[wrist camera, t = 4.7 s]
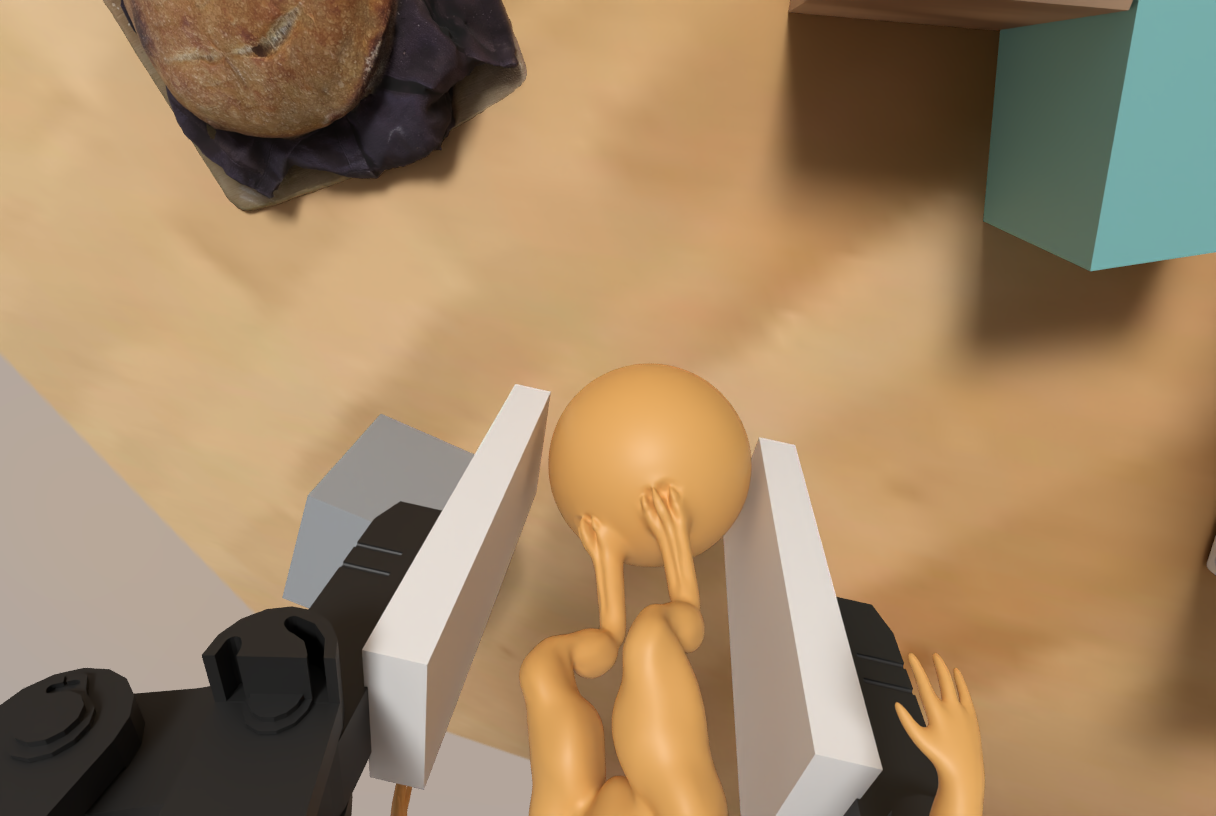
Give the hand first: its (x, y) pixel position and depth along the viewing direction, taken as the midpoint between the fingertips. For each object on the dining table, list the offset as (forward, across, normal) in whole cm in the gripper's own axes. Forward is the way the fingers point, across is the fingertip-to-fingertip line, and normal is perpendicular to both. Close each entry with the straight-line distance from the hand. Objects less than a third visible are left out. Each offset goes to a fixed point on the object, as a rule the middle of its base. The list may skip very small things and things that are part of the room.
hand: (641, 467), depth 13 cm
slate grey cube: (+7, -8, -8) cm, 13 cm away
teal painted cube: (+8, +9, +9) cm, 15 cm away
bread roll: (+8, -11, +7) cm, 15 cm away
